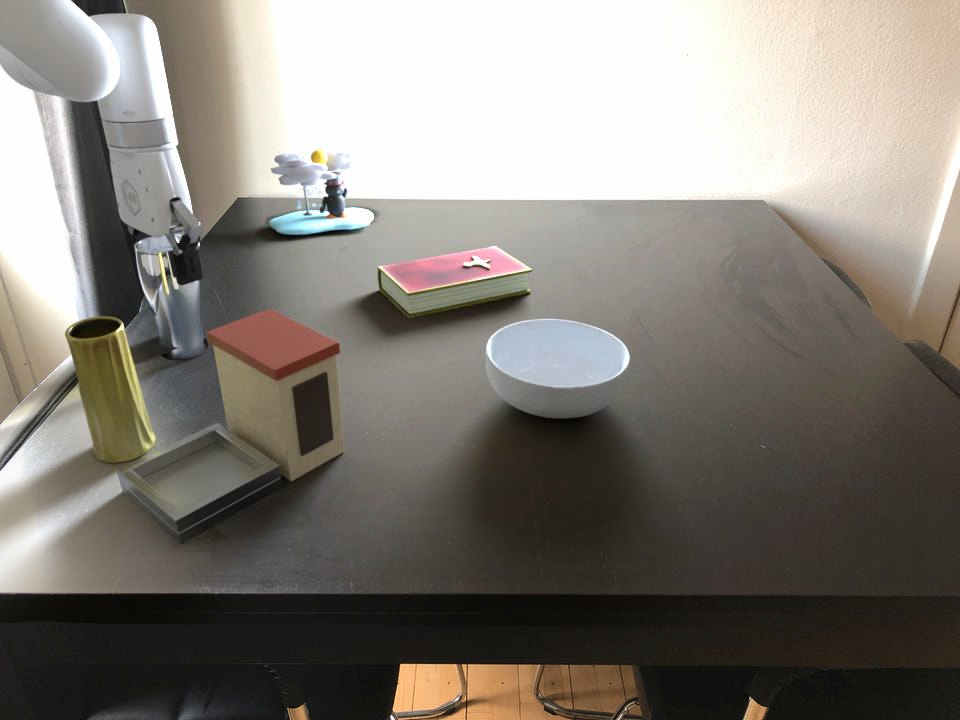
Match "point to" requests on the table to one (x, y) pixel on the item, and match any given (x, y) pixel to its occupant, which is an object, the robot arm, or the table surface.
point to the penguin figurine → (309, 175)
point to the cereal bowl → (556, 367)
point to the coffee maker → (247, 427)
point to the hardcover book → (453, 281)
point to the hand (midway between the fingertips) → (169, 271)
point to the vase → (110, 389)
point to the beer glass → (170, 299)
